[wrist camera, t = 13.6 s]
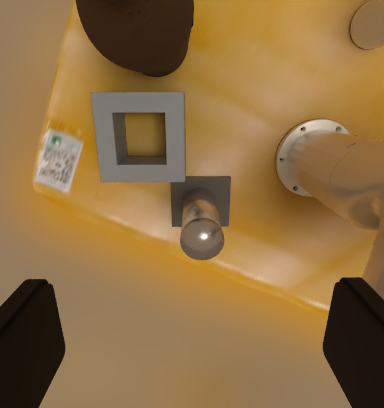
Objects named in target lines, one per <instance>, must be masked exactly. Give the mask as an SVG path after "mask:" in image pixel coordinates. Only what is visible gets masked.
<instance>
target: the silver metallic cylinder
mask: <svg viewBox="0 0 384 408" xmlns="http://www.w3.org/2000/svg"><path fill="white" fill-rule="evenodd" d="M180 243H181V247H182V249H183V251H184V252H185V253H186V254H187V255H188V256H189V257H191V258H193V259H196V260H208V259H211V258H213V257H215V256H216V255H217V254H219V252H220V251H221V250H222V248H223V245H224V235H223V231H222V228H221V224H220V220H219V216H218V211H217V207H216V203H215V199H214V196H213V194H212V193H211V192H210V191H208V190H207V189H204V188H195V189H192V190H190V191H189V192H188V193H187V194H186V196H185V198H184V204H183V217H182V230H181V238H180Z"/></svg>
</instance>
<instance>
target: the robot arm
mask: <svg viewBox="0 0 384 408" xmlns="http://www.w3.org/2000/svg"><path fill="white" fill-rule="evenodd" d="M301 127H302V130H300V128H301ZM336 127H337V130H336ZM280 158H282V160H279V159H280ZM275 165H276V171H277V175H278V177H279V179H280V181H281V182H282V183H283V185H284V186H285V187H286V188H287V189H289V190H290V191H291V192H293V193H295V194H298V195H300V196H305V197H315V198H316V199H318V200H319V201H320V202H321V203H323V204H324V205H325V206H327V207H328V208H329V209H331V210H332V211H333V212H335V213H336V214H337V215H339V216H340V217H341V218H343V219H344V220H345V221H347V222H349V223H350V224H352V225H354V226H357V227H359V228H363V229H368V230H378V231H377V234H376V237H375V240H374V243H373V248H372V251H371V254H370V257H369V259H368V262H367V265H366V268H365V271H364V274H363V276H362V278H359V277H357V278H341V279H340V281H339V282H337V283H336V284H335V286H334V291H333V296H332V301H331V306H330V311H329V316H328V321H327V326H326V331H325V336H324V341H323V352H324V355H325V357H326V359H327V361H328V363H329V365H330V367H331V369H332V371H333V373H334V375H335V376H336V378H337V380H338V382H339V383H340V386H341V388H342V390H343V392H344V393H345V395H346V397H347V399H348V401H349V403H350V405H351V406H352V408H384V141H380V140H375V139H370V138H365V137H360V136H355V135H351V134H350V132H349V131H348V130H347V129H346V128H345V127H344V126H343V125H341V124H339V123H338V122H335V121H332V120H329V119H313V120H308V121H305V122H303V123H300V124H299V125H297V126H296V127H294V128H293V129H292V130H291V131H289V132H288V133H287V134H286V136H285V137H284V138H283V140H282V141H281V143H280V145H279V147H278V150H277V153H276V159H275ZM294 186H295V188H293V187H294ZM64 354H65V342H64V337H63V332H62V328H61V322H60V318H59V313H58V308H57V303H56V298H55V293H54V289H53V286H52V284H48V281H47V280H45V279H28V280H25V281H24V282H23V283H22V284H21V285H20V286H19V287H18V288H17V289H16V291H14V293H13V294H12V295H11V296H10V297H9V298H8V299H7V300H6V301H5V302H4V303H3V304H2V305H1V306H0V408H38V407H39V406H40V403H41V402H42V400H43V398H44V396H45V393H46V392H47V390H48V388H49V386H50V384H51V381H52V380H53V378H54V376H55V374H56V372H57V370H58V368H59V366H60V364H61V362H62V360H63V357H64Z"/></svg>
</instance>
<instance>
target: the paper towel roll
mask: <svg viewBox="0 0 384 408" xmlns="http://www.w3.org/2000/svg"><path fill="white" fill-rule="evenodd" d="M350 33H351V37H352V40H353V42H354V43H355V44H356V45H357V46H358V47H361V48H363V49H374V48H377V47H381V46H384V0H371V1H369V2H367V3H365V4H364V5H362V6H361V7H360V9H359V10H358V11H357V12H356V13H355V15H354V17H353V19H352V22H351V28H350Z"/></svg>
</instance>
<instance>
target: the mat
mask: <svg viewBox="0 0 384 408" xmlns="http://www.w3.org/2000/svg"><path fill="white" fill-rule="evenodd" d="M230 182H231V177H185V182H171V202H172V227H182V217H183V204H184V198H185V196H186V194H187V193H188V192H189V191H190V190H192V189H195V188H204V189H207V190H208V191H210V192H211V193H212V194H213V196H214V199H215V203H216V207H217V211H218V216H219V220H220V224H221V226H229V204H230Z"/></svg>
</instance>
